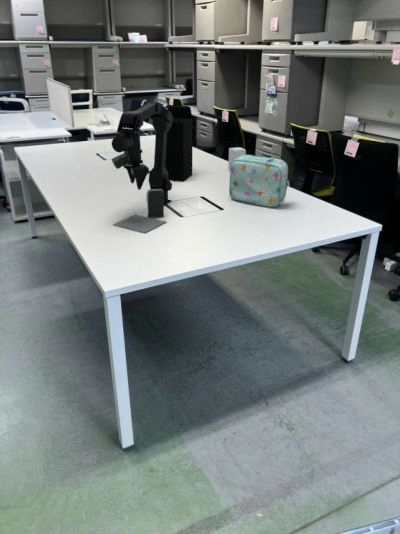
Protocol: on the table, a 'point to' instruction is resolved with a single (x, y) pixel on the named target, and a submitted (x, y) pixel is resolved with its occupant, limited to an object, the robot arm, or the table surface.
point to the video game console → (179, 149)
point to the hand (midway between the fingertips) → (135, 186)
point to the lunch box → (258, 180)
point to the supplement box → (235, 154)
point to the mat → (140, 223)
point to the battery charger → (155, 203)
